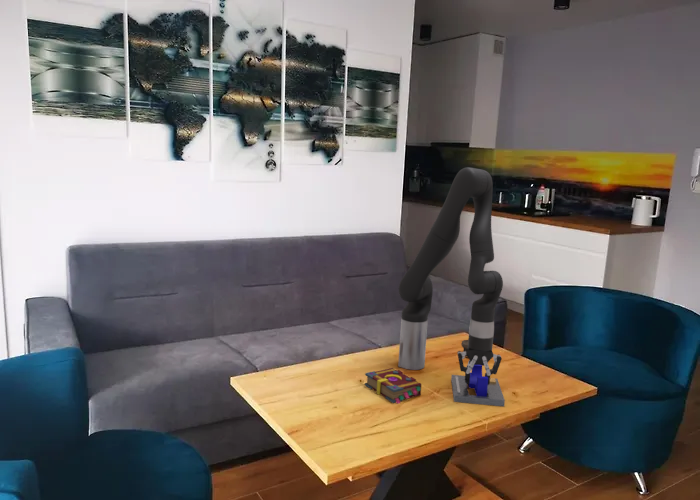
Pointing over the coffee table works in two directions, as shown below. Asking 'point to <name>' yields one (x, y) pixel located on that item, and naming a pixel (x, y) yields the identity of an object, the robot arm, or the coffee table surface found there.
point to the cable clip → (478, 381)
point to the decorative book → (393, 384)
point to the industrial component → (465, 345)
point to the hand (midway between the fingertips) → (476, 384)
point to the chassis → (463, 395)
